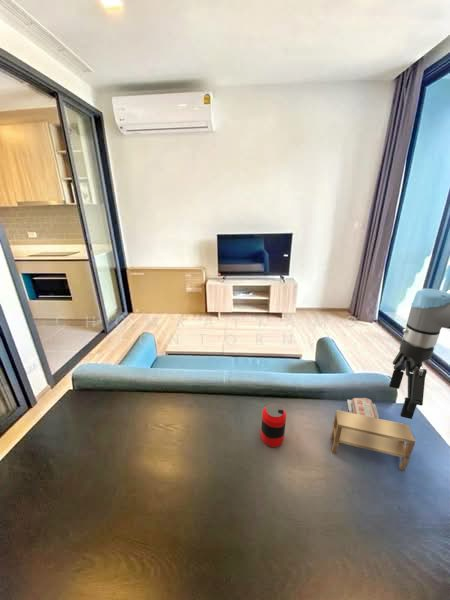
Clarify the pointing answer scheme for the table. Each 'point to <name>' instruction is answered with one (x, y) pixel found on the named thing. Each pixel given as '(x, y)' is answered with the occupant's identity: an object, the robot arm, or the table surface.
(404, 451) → the rack
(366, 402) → the packaged product
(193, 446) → the table surface
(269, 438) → the soda can
